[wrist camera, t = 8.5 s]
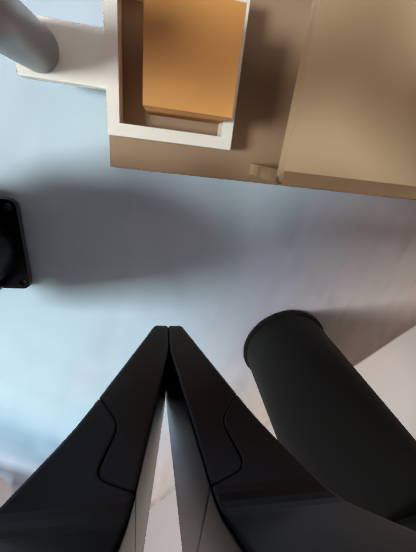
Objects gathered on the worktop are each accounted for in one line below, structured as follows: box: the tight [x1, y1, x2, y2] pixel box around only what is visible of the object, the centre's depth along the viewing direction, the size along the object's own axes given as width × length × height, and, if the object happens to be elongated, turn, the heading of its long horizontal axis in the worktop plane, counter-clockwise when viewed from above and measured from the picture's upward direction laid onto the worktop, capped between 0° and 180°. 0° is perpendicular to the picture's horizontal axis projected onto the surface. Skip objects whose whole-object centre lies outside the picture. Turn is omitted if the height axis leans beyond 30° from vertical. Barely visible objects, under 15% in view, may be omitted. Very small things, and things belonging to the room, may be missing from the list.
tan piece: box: [110, 0, 416, 200], centre depth 15 cm, size 10×25×8 cm, turn 83°
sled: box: [0, 0, 250, 150], centre depth 10 cm, size 7×11×10 cm, turn 83°
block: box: [143, 0, 247, 124], centre depth 13 cm, size 4×4×4 cm
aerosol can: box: [244, 311, 416, 532], centre depth 18 cm, size 8×8×20 cm
